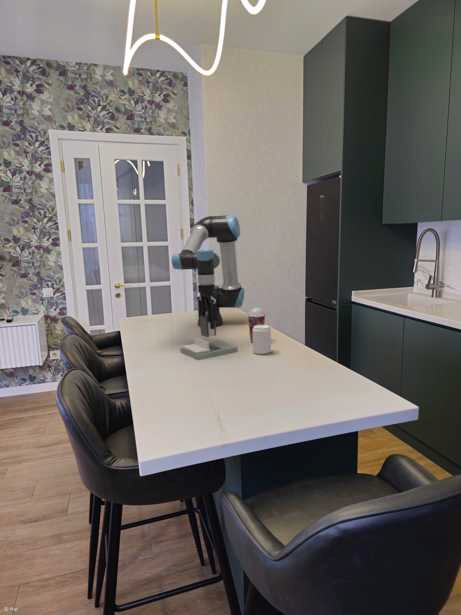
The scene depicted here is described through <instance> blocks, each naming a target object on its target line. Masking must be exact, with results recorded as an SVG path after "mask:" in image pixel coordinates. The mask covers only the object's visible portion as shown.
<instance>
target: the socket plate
mask: <svg viewBox="0 0 461 615" xmlns="http://www.w3.org/2000/svg"><path fill="white" fill-rule="evenodd" d="M208 342H209V349H210V348H211V349H210V351H208V352H204V353H199V354H196V353H193V352H191V351H189V350H186V349H184V348H183V347H180V353H182V354H184V355H186V356H188V357H190V356H191V358H192V357H193V358H192V359H195V360H197V361H200V359H201V360H204V358H205V359H209V358H208V357H210V358H212V357H213V356H214V357H218V356H222V354H223V355H226V353H227V354H231V353H235V352H238V351H239V350H238V349H239V348H238V346H236V345H233V344H231V343H228V342H224V341H222V340H212V341H208ZM213 349H214V350H213ZM217 355H218V356H217ZM214 357H213V358H214Z"/></svg>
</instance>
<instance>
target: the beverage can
mask: <svg viewBox="0 0 461 615" xmlns="http://www.w3.org/2000/svg"><path fill="white" fill-rule="evenodd" d="M270 326H271V325H268V324H264V325H256V326H254V328H253V343H252V352H253V353H254V354H257V355H267V354H270V353H271V352H272V339H271V338H272V337H271V334H272V330H271V327H270Z"/></svg>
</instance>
